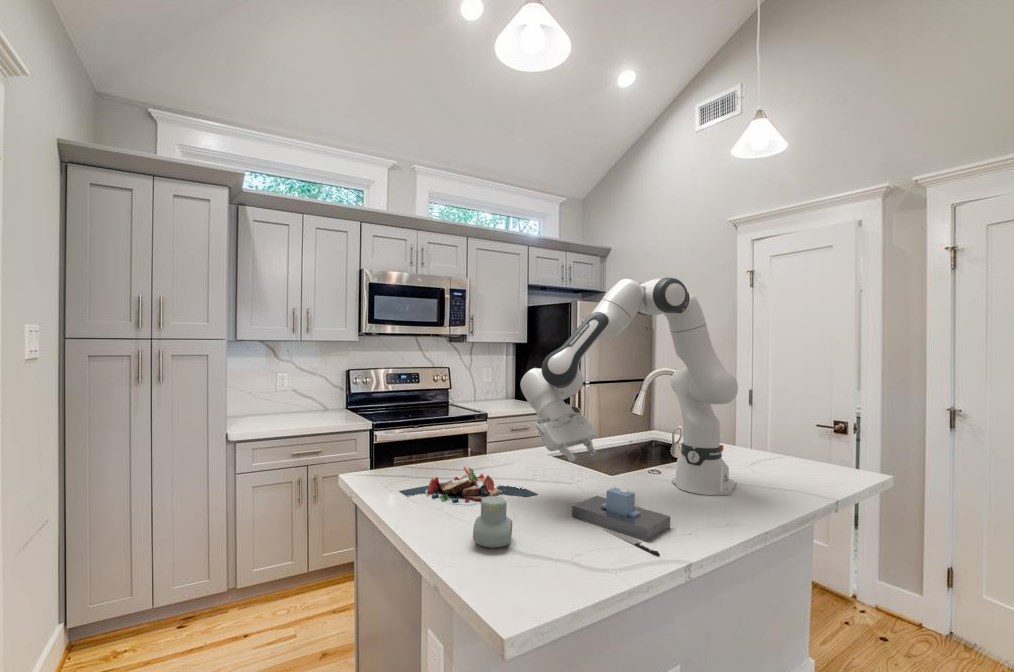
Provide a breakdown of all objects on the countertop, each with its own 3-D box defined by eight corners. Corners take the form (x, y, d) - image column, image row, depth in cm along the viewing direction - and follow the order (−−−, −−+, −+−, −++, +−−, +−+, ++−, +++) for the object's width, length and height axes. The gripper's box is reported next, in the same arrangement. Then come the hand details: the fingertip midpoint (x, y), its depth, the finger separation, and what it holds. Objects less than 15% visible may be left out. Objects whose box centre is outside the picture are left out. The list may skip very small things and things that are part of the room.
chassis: (596, 506, 142) (596, 495, 142) (670, 528, 127) (670, 516, 127) (571, 516, 133) (572, 505, 133) (647, 541, 118) (648, 529, 118)
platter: (438, 521, 130) (438, 486, 130) (396, 495, 151) (396, 465, 152) (540, 498, 150) (541, 468, 150) (491, 479, 172) (491, 452, 172)
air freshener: (479, 532, 121) (479, 491, 121) (512, 534, 120) (513, 493, 120) (471, 552, 110) (472, 507, 110) (508, 554, 109) (509, 509, 109)
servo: (607, 515, 135) (608, 482, 135) (641, 525, 128) (641, 491, 128) (599, 518, 132) (600, 485, 132) (633, 529, 125) (634, 494, 125)
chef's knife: (606, 527, 128) (597, 529, 126) (606, 522, 128) (598, 524, 126) (666, 556, 111) (657, 558, 110) (667, 550, 111) (657, 553, 110)
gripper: (540, 414, 135) (568, 456, 128) (582, 407, 150) (610, 445, 143) (527, 428, 138) (554, 470, 131) (570, 420, 153) (596, 457, 146)
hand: (583, 457), depth 138 cm, fingers open, 8 cm apart
